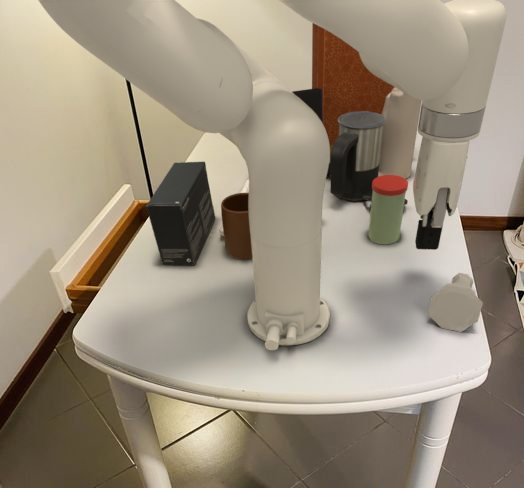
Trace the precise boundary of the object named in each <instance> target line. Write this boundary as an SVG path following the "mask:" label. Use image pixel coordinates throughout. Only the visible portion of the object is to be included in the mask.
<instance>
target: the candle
mask: <svg viewBox="0 0 524 488" xmlns="http://www.w3.org/2000/svg"><path fill="white" fill-rule="evenodd" d="M421 105H422V100H419V99H415V98H412V97H410V96H408V95H407V94H405V93H404V92H402V91H401V90H399V89H397V88H396V87H394V88H393V90H392V92H391V93H389V94H388V96H387V97H386V100H385V104H384V108H383V111H382V115H383V116H384V117H385V119H386V121H385V123H384V126H383V135H382V144H381V153H380V162H379V172H378V177H379V176H383V175H395V176H400V177H403V178H405V179H406V180H407V179H408V178H409V177H410V176H411V174H412V167H413V160H414V159H413V158H414V154H415V147H416V141H417V140H416V139H417V135H418V125H419V119H420V112H421Z"/></svg>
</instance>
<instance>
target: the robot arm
mask: <svg viewBox="0 0 524 488" xmlns="http://www.w3.org/2000/svg"><path fill="white" fill-rule="evenodd" d="M37 1H38V2H39V3H40V5H41V6H42V8H43V9H44V11H45V12H46V14H48V16H49V17H50V18H51V19H52V20H53V22H55V24H56V25H57V26H58V27H59V28H60V29H61V30H62V31H63V32H64V33H65V34H67V35H68V36H69V37H70V38H71V39H72V40H74V41H75V42H76V43H77V44H78V45H80V46H81V47H82V48H83V49H85V50H86V51H87V52H89V53H90V54H91V55H93V56H94V57H96V59H98V60H100V61H101V62H102V63H104V65H107V66H108V67H109V68H111V69H112V70H113V71H115V72H116V73H117V74H119V75H120V76H121V77H122V78H124V79H125V80H126V81H128V82H129V83H130V84H132V85H133V86H134V87H135V88H137V89H139V90H140V91H142V92H143V93H144V94H145V95H147V96H148V97H150V98H151V99H153V100H154V101H155V102H157V103H158V104H159V105H161V106H162V107H164V108H165V109H167V110H168V111H169V112H170V113H172V114H173V115H174V116H176V117H177V118H178V119H179V120H180V121H182V122H183V123H184V124H186V125H188V126H189V127H191V128H193V129H194V130H197V131H200V132H203V133H207V134H220V135H221V136H222V137H224V138H225V139H227V140H228V141H230V143H232V144H233V145H234V146H235V147H236V148H237V149H238V151H239V153H240V155H241V157H242V159H243V160H244V162H245V164H246V168H247V174H248V178H249V197H248V212H249V226H250V235H251V247H252V270H253V282H254V292H255V293H254V294H255V300H253V302H252V303H251V304H250V306H249V308H248V310H247V314H246V315H247V325H248V328H249V330H250V331H251V332H252V333H253V334H254V336H255V337H257V338H259V339H260V340H262V341H264V347H265V348H266V349H267V350H268V351H276V350H278V349H279V346H297V345H298V346H299V345H303V344H306V343H308V342H312V341H313V340H315V339H317V338H318V337H320V336H321V335H322V334H323V333H325V331H326V330H327V328H328V327H329V324H330V318H331V312H330V308H329V305H328V304H327V303H326V301H325V300H324V299H323V298H321V278H322V276H321V275H322V274H321V272H322V240H323V239H322V237H323V235H322V234H323V232H322V231H323V228H322V226H323V225H322V224H323V205H324V204H323V203H324V195H325V194H324V193H325V185H326V180H327V177H326V176H327V171H328V166H329V159H330V146H329V139H328V135H327V132H326V130H325V127H324V125H323V123H322V122H321V120H320V119H319V117H318V116H317V114H316V113H315V112H314V111H313V110H312V109H311V108H310V107H309V106H308V105H307V104H305V103H304V102H303V101H302V100H301V99H300V98H299V97H297V96H296V95H295V94H294V93H292V90H290V89H289V88H288V87H287V85H285V84H284V83H283V82H281V81H280V80H279V79H278V78H277V77H275V76H274V75H273V74H272V73H270V71H268V70H267V69H266V68H265V67H263V66H262V65H261V64H260V63H259V61H257V60H256V59H254V58H253V57H252V56H251V55H250V54H249V53H247V52H246V51H245V50H244V49H243V48H242V47H240V46H239V45H238V44H237V43H236V42H235V41H233V39H231V38H230V37H229V36H228V35H226V33H225V32H223V31H222V30H221V29H220V28H219V27H218V26H216V25H215V24H213V23H212V22H210V21H208V20H205V19H201V18H197V17H196V16H194V15H193V14H192V13H191V12H190V11H189V10H187V9H186V8H185V7H184V6H182V5H181V4H180V2H178V1H177V0H37ZM279 1H280V2H281V3H282V4H284V5H285V6H286V7H288V8H289V9H291V10H292V11H293V12H294V13H296V14H297V15H299V16H300V17H301V18H304V19H305V20H307V21H308V22H310V23H314V24H316V25H318V26H320V27H322V28H324V29H325V30H327V31H329V32H331V33H332V34H334V35H336V36H337V37H339V38H340V39H342V40H343V41H345V42H346V43H347V44H349V45H350V46H351V47H353V48H354V49H355V50H357V51H358V52H359V55H360V58H361V61H362V62H363V64H364V66H365V67H366V68H367V69H368V70H369V71H370V72H371V73H372V74H374V75H375V76H377V77H378V78H380V79H382V80H383V81H385V82H387V83H388V84H391V85H392V86H394V87H396V88H397V89H399V90H401V91H402V92H404V93H405V94H407V95H408V96H410V97H412V98H415V99H419V100H422V101H421V107H420V114H419V121H418V127H417V134H419V136H421V137H422V138H421V142H420V146H419V152H418V157H417V163H416V167H415V173H414V178H413V183H412V190H413V191H412V193H413V200H414V207H415V212H416V213H417V214H418V216H420V219H418V222H417V228H416V235H415V241H414V242H415V248H416V249H417V250H432V251H433V250H434V251H435V250H438V249H439V246H440V242H441V237H442V232H443V227H444V222H445V217H446V213H447V215H448V217H451V216H453V215H454V214H455V212H456V210H457V206H458V202H459V199H460V194H461V190H462V185H463V180H464V175H465V169H466V164H467V159H468V152H469V147H470V141H472V140H475V139H476V138H478V137H479V136H480V133H481V128H482V124H483V120H484V115H485V112H486V107H487V103H488V98H489V94H490V89H491V86H492V81H493V77H494V73H495V69H496V64H497V60H498V55H499V52H500V48H501V43H502V39H503V35H504V30H505V27H506V26H505V25H506V20H507V9H506V8H505V5H504V4H503V3H502V2H500V1H499V0H449V1H447V2H442V0H279Z"/></svg>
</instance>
